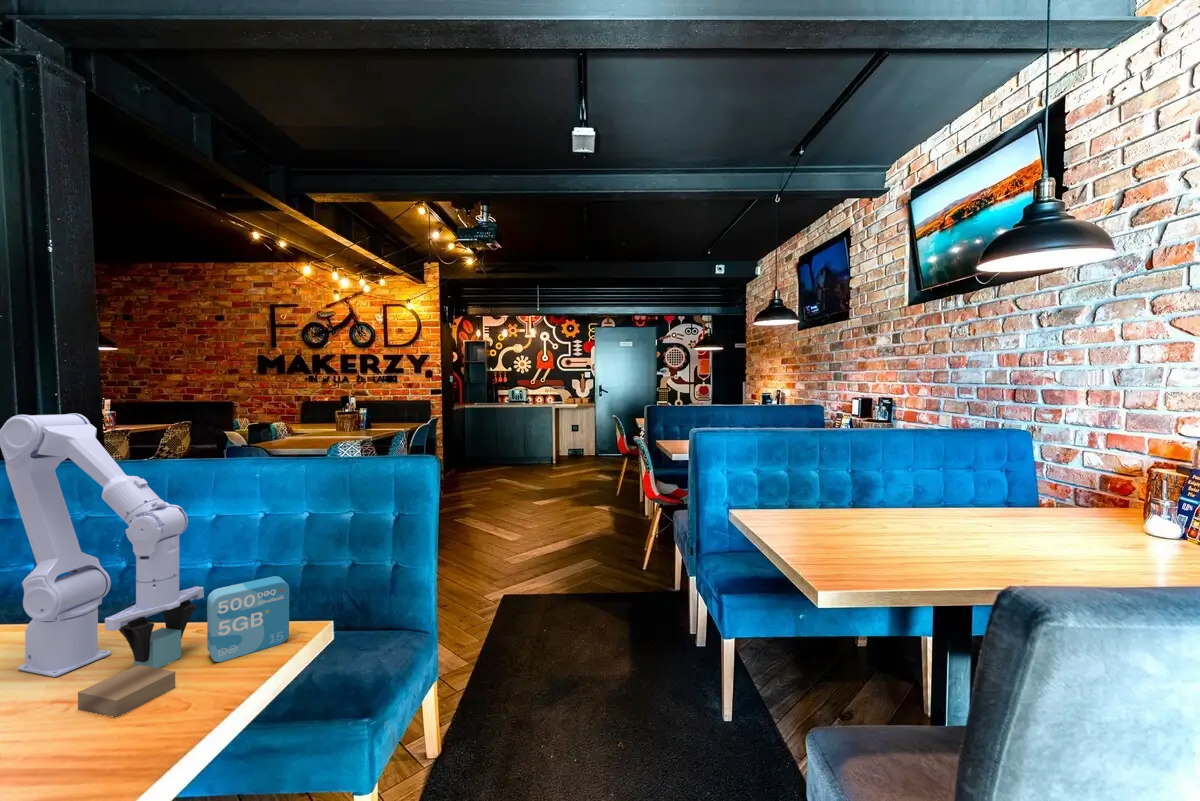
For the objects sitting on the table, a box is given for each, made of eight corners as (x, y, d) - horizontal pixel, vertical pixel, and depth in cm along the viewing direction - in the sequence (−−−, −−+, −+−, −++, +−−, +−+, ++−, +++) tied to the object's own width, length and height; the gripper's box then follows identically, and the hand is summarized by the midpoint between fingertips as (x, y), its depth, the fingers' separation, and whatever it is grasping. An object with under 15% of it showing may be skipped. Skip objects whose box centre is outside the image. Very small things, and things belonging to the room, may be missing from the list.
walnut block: (77, 712, 75) (77, 692, 75) (138, 682, 83) (138, 664, 83) (116, 720, 73) (116, 700, 73) (175, 690, 81) (175, 671, 81)
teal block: (133, 667, 87) (133, 638, 87) (162, 654, 91) (162, 627, 91) (153, 671, 86) (153, 642, 86) (181, 657, 90) (181, 630, 90)
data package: (211, 665, 88) (211, 597, 88) (207, 656, 91) (207, 590, 91) (289, 641, 96) (289, 579, 96) (283, 634, 99) (283, 573, 99)
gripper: (127, 594, 80) (127, 678, 80) (216, 565, 95) (216, 637, 95) (95, 590, 82) (95, 672, 82) (187, 562, 96) (187, 632, 96)
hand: (157, 653), depth 89 cm, fingers closed on teal block, 4 cm apart
